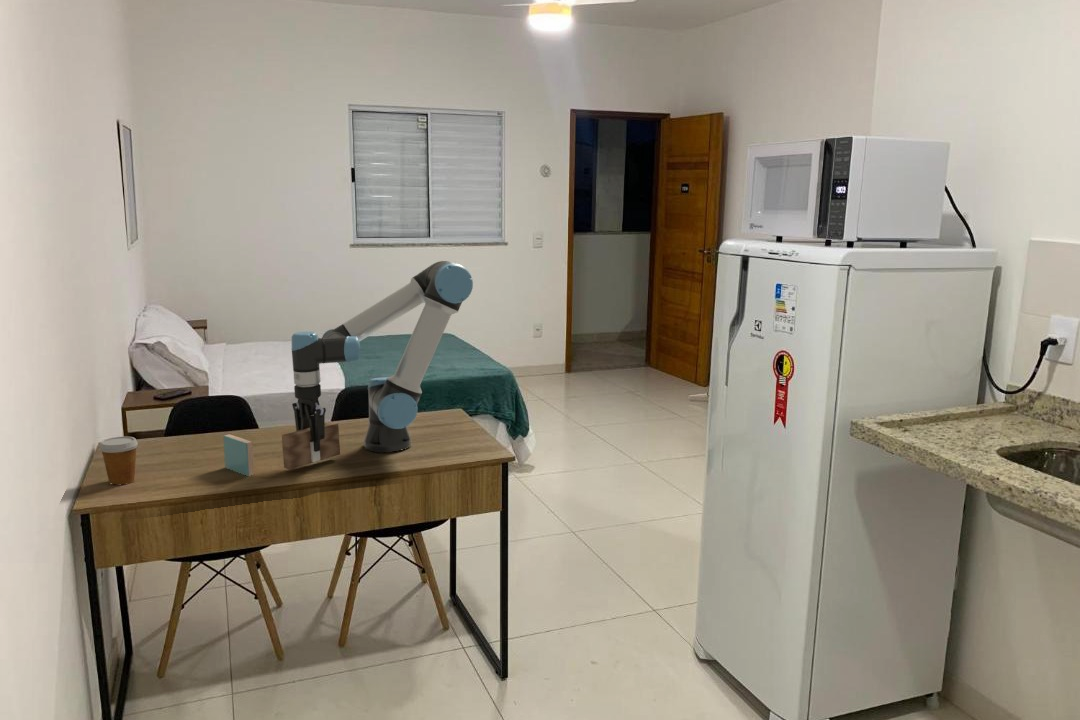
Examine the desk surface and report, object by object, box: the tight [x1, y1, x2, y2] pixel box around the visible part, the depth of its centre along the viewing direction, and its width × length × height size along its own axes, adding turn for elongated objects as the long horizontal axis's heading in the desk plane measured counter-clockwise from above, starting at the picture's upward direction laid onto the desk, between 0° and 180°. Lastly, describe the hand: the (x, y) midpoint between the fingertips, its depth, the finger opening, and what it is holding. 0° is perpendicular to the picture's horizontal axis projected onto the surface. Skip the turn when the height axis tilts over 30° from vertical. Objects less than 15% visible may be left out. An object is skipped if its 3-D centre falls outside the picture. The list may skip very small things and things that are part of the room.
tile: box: [222, 434, 255, 477], centre depth 233 cm, size 2×12×10 cm, turn 52°
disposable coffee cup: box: [99, 436, 139, 485], centre depth 222 cm, size 10×10×12 cm
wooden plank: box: [281, 421, 341, 471], centre depth 239 cm, size 18×3×10 cm, turn 142°
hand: (312, 459), depth 239 cm, fingers closed on wooden plank, 3 cm apart
